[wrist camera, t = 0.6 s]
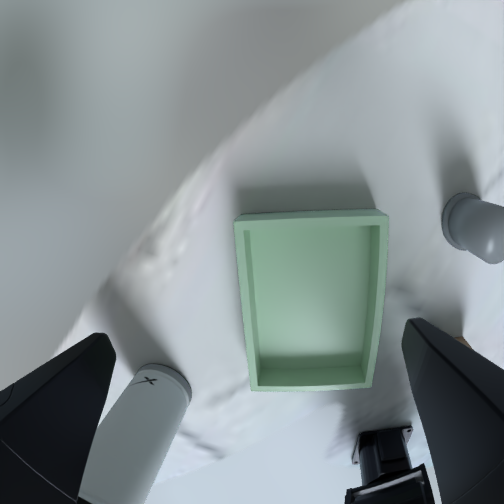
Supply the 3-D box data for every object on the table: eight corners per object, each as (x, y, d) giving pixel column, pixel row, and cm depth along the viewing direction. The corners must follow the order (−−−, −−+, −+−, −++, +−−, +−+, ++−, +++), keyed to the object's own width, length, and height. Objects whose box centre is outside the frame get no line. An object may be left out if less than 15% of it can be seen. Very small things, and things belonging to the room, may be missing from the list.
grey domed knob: (481, 247, 20) (514, 266, 15) (439, 249, 21) (469, 270, 16) (485, 193, 19) (520, 202, 14) (442, 191, 19) (475, 200, 15)
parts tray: (365, 366, 24) (371, 387, 21) (255, 369, 26) (251, 391, 23) (376, 208, 20) (388, 215, 18) (241, 214, 22) (233, 221, 19)
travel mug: (148, 350, 27) (32, 509, 8) (203, 387, 27) (127, 565, 8) (128, 381, 29) (33, 515, 10) (176, 414, 29) (106, 560, 10)
